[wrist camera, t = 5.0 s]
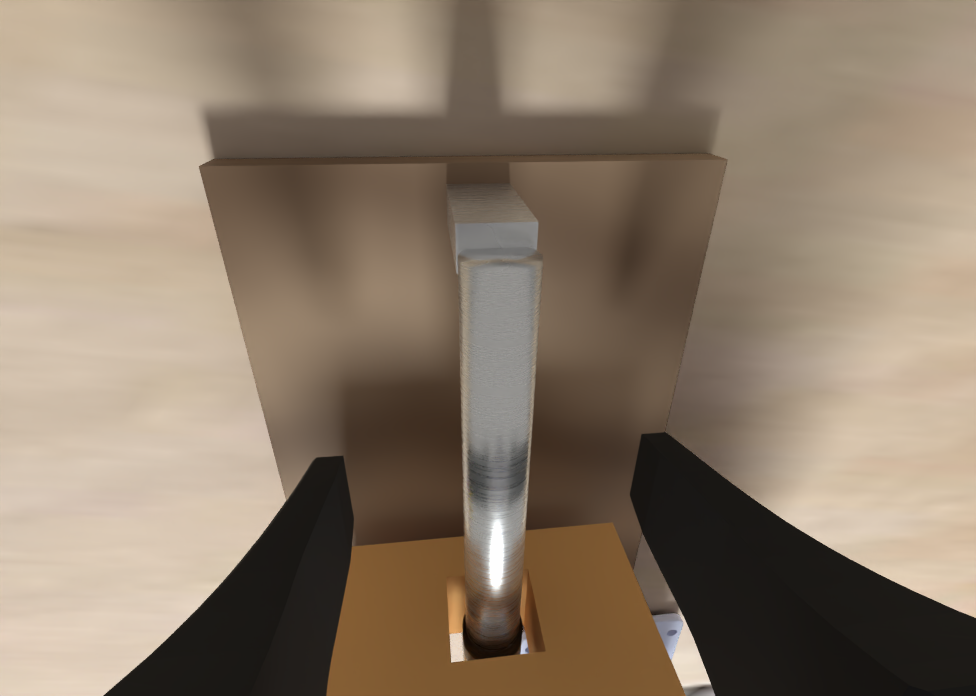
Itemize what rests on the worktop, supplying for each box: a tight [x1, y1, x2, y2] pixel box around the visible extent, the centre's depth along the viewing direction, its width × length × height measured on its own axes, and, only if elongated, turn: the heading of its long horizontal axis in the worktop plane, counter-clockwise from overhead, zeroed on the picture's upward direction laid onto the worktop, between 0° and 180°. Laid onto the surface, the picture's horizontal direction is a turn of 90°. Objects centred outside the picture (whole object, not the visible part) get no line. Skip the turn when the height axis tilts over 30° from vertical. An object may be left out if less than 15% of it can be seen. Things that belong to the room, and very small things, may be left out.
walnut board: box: [199, 154, 727, 570], centre depth 17 cm, size 18×13×1 cm
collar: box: [326, 522, 686, 696], centre depth 16 cm, size 3×9×6 cm, turn 90°
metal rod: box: [446, 183, 543, 661], centre depth 15 cm, size 17×2×5 cm, turn 0°
